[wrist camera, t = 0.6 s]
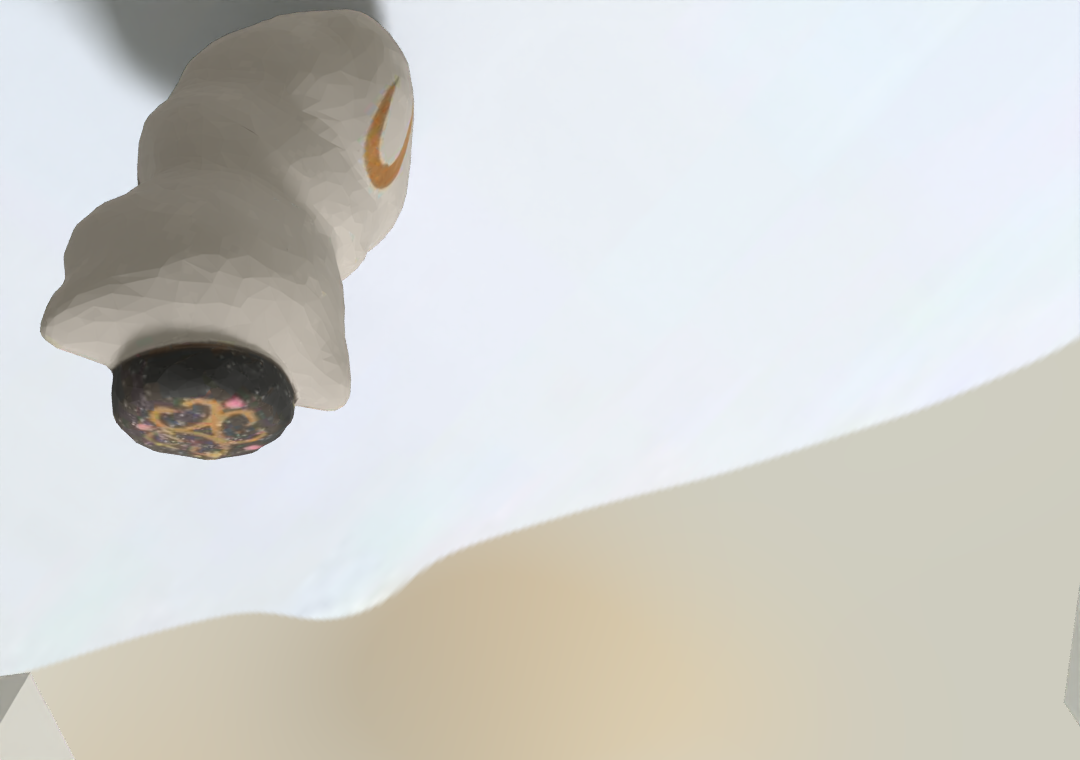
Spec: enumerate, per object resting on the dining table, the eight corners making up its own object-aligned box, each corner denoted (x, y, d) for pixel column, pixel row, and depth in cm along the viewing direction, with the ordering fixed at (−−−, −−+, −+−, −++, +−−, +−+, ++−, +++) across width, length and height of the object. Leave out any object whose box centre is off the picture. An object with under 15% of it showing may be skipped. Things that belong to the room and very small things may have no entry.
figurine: (138, 170, 35) (-96, 357, 22) (298, -68, 32) (138, -19, 18) (341, 316, 38) (244, 561, 24) (510, 110, 34) (503, 265, 21)
